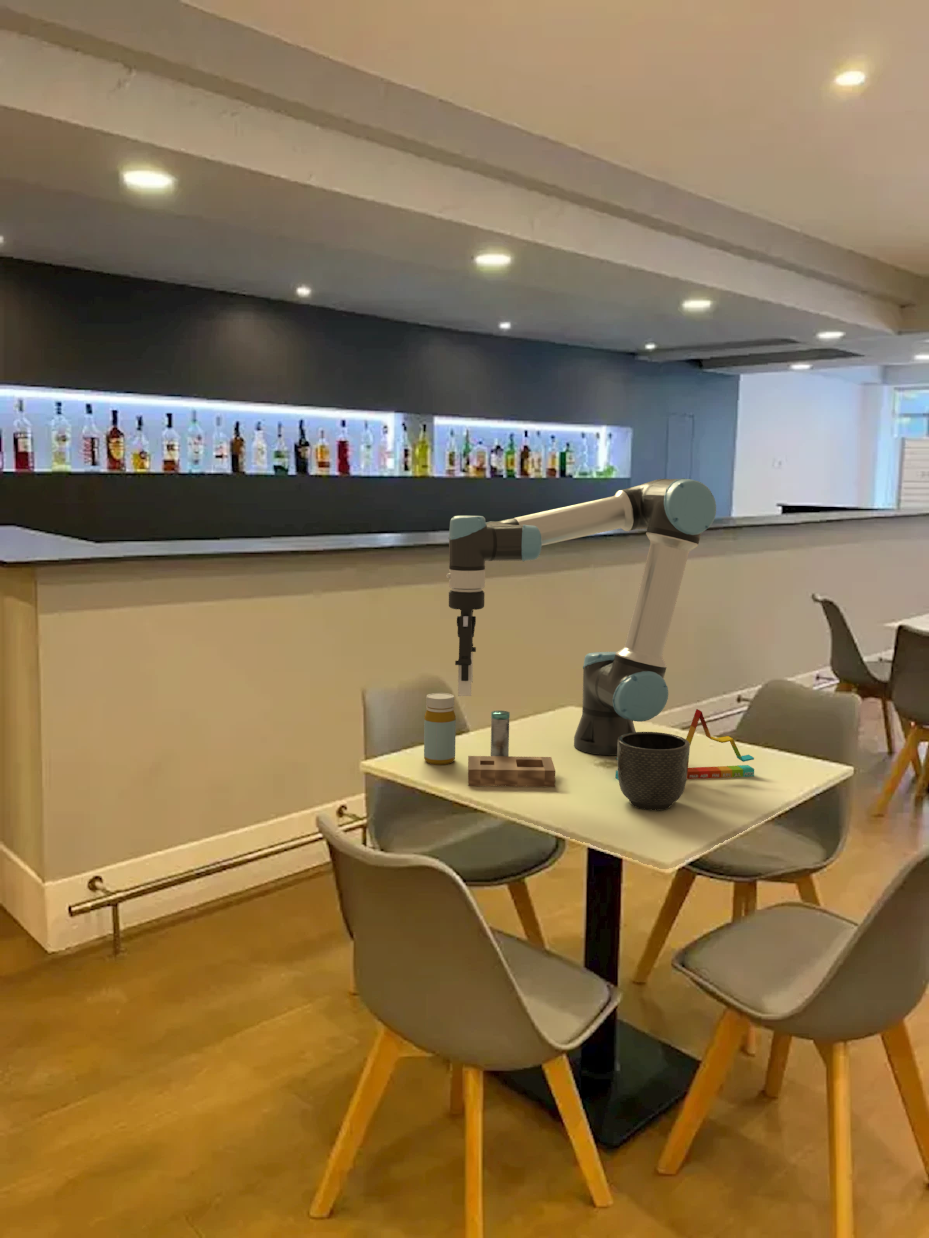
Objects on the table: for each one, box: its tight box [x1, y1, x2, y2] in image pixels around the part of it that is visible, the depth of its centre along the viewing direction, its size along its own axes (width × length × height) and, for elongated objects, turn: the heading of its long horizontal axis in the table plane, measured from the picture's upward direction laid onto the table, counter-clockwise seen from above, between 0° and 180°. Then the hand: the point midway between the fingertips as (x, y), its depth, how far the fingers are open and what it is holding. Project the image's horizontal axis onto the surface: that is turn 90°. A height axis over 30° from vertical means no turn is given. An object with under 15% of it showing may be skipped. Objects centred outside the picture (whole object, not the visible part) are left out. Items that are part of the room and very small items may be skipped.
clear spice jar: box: [490, 710, 510, 756], centre depth 216 cm, size 4×4×12 cm
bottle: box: [423, 692, 457, 766], centre depth 219 cm, size 7×7×15 cm
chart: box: [615, 708, 755, 781], centre depth 209 cm, size 30×3×15 cm, turn 100°
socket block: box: [467, 755, 556, 788], centre depth 207 cm, size 18×10×4 cm, turn 90°
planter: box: [616, 731, 691, 811], centre depth 192 cm, size 14×14×13 cm
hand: (465, 688), depth 208 cm, fingers open, 13 cm apart
